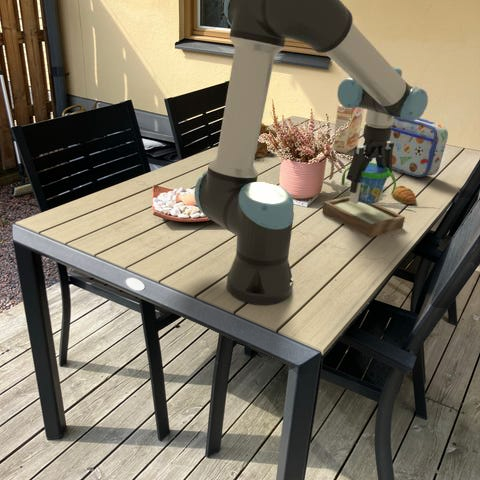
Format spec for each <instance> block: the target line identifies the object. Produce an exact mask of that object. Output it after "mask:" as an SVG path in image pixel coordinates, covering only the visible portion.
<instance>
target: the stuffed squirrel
mask: <svg viewBox="0 0 480 480" xmlns="http://www.w3.org/2000/svg"><path fill="white" fill-rule="evenodd" d="M269 126H270V125H266V124H264V123H261V129H260V134H259V136H260V135H261V134H263V133H267V134H269V129H270V131H271V133H272V134H273V135H274V137H275V138H276V137H277V134H276V133H277V131H276V130H275V129H272V128H269ZM274 130H275V131H276V132H275V131H274ZM268 153H269V152H268V150H267V144H266V143H261V142H259V141H258V144H257V149H256V155H255V156H256V157H258V158H259V157H261V158H264V157H267V155H268ZM263 156H264V157H263Z"/></svg>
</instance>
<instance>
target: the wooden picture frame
mask: <svg viewBox="0 0 480 480" xmlns="http://www.w3.org/2000/svg"><path fill="white" fill-rule="evenodd" d="M349 199H350V195H347V196H343V197H340V198H335V199H330V200H325V201H323V205H322V213H323V214H325V215H327V216H328V217H331V218H332V219H334V220H336V221H338V222H340V223H342V224H344V225H345V226H347V227H349V228H352V229H353V230H355V231H356V232H358V233H361V234H362V235H364V236H366V237H368V238H373V237H377V236H380V235H383V234H386V233H389V232H394V231H397V230H400V229H403V227H404V223H405V219H406V217H405V216H404V215H401V214H399V213H397V212H395V211H392V210H390V209H389V208H386V207H384V206H382V205H380V204H378V203H371V204H368V203H361V202H358V204H354V203H352V202H350V201H349Z"/></svg>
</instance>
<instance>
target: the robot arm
mask: <svg viewBox="0 0 480 480" xmlns="http://www.w3.org/2000/svg"><path fill="white" fill-rule="evenodd" d="M223 3H224V4H223V13H224V17H226V19H227V20H226V21H227V24H228V25H229V26H230V32H229V40H230V41H231V43H232V45H233V46H234V53H233V58H232V64H231V69H230V70H231V71H230V76H229V80H228V81H229V83H228V88H227V93H226V100H225V105H224V111H223V116H222V122H221V123H222V124H221V129H220V134H219V135H220V136H219V142H218V146H217V147H218V148H217V152H216V158H215V159H214V160H213V161H211V162H209V163H208V167H207V170H206V171H204V172H203V173H202V176H200V177H199V178H198V179H197V180H196V181H197V182H196V184H195V186H194V201H195V204H196V207H197V208H198V209H199V211H200V212H201V213H202V214H203V215H205V217H206V218H207V219H209V220H210V221H211V222H214V223H216V224H217V225H219V226H221V227H222V228H223V229H225V230H227V231H228V232H229V233H232V234H233V235H235V236H236V249H235V250H236V251H235V257H234V260H233V261H232V265H231V266H230V268H229V271H228V272H227V275H226V288H227V291H228V292H229V293H230V294H231V296H232V297H234V298H236V299H238V300H240V301H242V302H245V303H248V304H253V305H259V306H260V305H263V306H264V305H274V304H279V303H281V302H284V301H285V300H287V299H288V298H290V296H291V295H292V293H293V287H294V279H293V276H292V270H291V266H290V261H289V255H290V252H289V251H290V246H291V239H292V238H291V237H292V231H293V223H294V216H295V211H294V199H293V197H292V195H291V194H290V193H289V192H288V191H287V190H286V189H285V188H283V187H281V186H279V185H278V184H277V185H276V184H274V183H271V184H269V183H268V182H263V181H258V178H259V172H258V171H257V169H256V168H255V166H254V162H255V159H256V158H255V157H256V155H255V154H256V149H257V144H258V139H259V134H260V129H261V123H262V122H263V119H264V113H265V109H266V102H267V97H268V92H269V87H270V83H271V82H270V81H271V78H272V72H273V67H274V66H273V65H274V63H275V59H276V58H275V57H276V56H277V54H279V53H280V52H281V51H283V50H284V49H285V43H286V39H289V40H293V41H297V42H299V43H303V44H304V45H307V46H308V47H310V48H311V49H312V50H313V51H314V52H316V53H317V54H325V55H327V56H328V58H330V59H331V61H333V62H334V63H335V64H336V65H337V66H338V67H340V68H341V70H343V72H345V73H346V74H347V75H348V76H349V77H348V78H347V77H346V78H345V79H343V80H341V82H340V84H339V85H338V87H337V100H338V102H339V103H340V104H339V105H342V106H343V107H345V108H353V109H354V108H356V107H359V108H364V110H366V114H365V119H364V120H365V121H364V122H365V123H366V124H364V125H363V126H364V128H363V133H362V137H363V138H364V142H363V143H362V145H360V146H359V145H358V146H355V148H354V150H353V151H354V152H353V156H352V159H351V162H350V165H349V166H350V168H349V170H347V171H348V172H347V174H346V176H345V179H346V180H348V181H350V186H349V191H350V193H349V194H350V195H349V196H350V199H349V201H350V202H352V203H354V204H358V198H359V193H360V187H361V183H360V182H359V181H360V179H361V173H362V171H365V170H366V168H367V166H368V164H369V163H372V161H373V159H375V162H376V164H377V166H379V167H382V168H385V167H387V168H388V169H389V171H390V172H391V173H392V174H393V169H392V154H393V147H394V143H392V142H389V140H390V136H391V131H392V128H391V125H393V119H394V117H398V118H401V119H407V120H411V121H413V120H417V119H419V118H421V117H422V116H423V115H424V113H425V111H426V109H427V107H428V102H429V97H428V93H427V91H426V90H425V89H423V88H419V87H418V86H411V85H410V84H409V83H408V82H406V80H405V79H404V78H403V77H402V76H403V71H402V69H401V68H399V67H396V66H392V65H391V64H390V62H388V61H387V59H386V58H385V57H384V56H383V55H382V53H380V52H379V50H377V48H376V47H375V46H374V45H373V44H372V43H371V41H369V39H368V38H367V37H366V36H365V35H364V33H363V32H361V31H360V29H359V28H357V26H356V25H355V24H354V17H353V14H352V11H350V10H349V9H348V7H347V6H346V5H345V4H344V3H343V2H342V1H341V0H224V2H223ZM356 177H357V178H356ZM388 178H390V176H388ZM383 190H384V188H383V189H382V192H381V194H380V197H379V199H381V198H382V196H383Z"/></svg>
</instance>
